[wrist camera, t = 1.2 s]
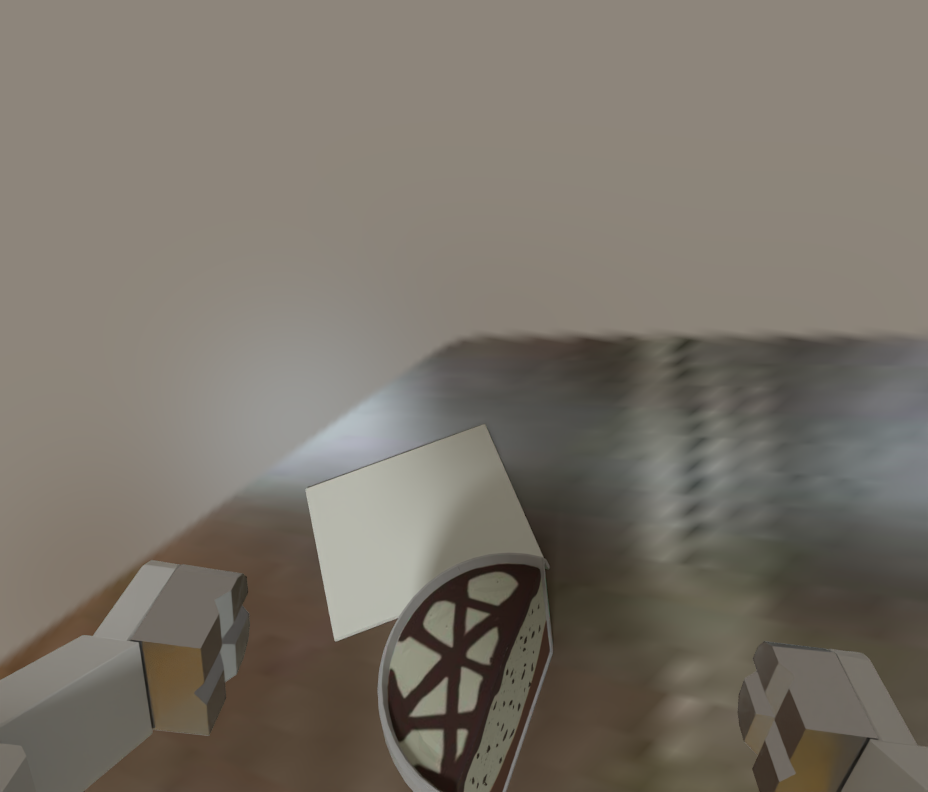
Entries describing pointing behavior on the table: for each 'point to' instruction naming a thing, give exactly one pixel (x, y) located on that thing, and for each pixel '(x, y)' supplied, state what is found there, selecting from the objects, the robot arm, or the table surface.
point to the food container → (466, 673)
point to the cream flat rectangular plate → (411, 525)
